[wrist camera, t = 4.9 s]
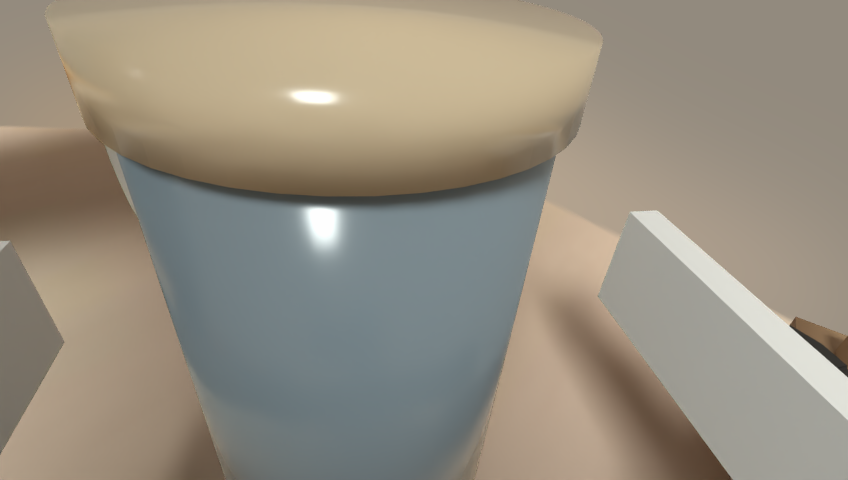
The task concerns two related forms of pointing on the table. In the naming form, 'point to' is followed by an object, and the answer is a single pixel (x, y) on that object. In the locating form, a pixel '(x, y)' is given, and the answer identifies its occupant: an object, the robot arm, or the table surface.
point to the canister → (335, 208)
